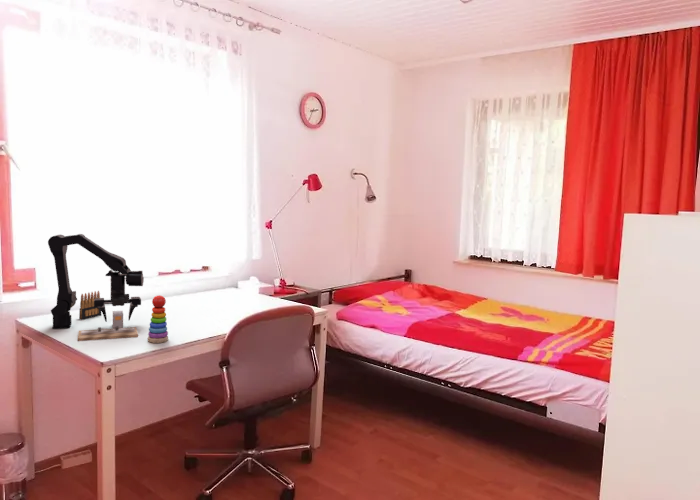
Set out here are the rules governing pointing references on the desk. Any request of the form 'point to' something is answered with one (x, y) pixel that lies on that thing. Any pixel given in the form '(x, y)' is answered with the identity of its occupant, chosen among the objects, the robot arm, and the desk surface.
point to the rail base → (107, 333)
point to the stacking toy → (158, 321)
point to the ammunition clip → (89, 306)
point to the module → (118, 319)
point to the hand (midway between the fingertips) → (117, 320)
